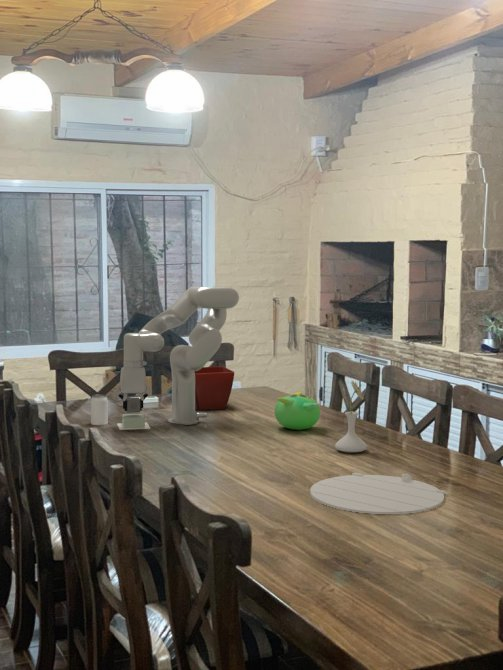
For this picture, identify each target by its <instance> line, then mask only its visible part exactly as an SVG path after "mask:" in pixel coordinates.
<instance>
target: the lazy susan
mask: <svg viewBox="0 0 503 670" xmlns="http://www.w3.org/2000/svg"><path fill="white" fill-rule="evenodd" d="M444 494H448V495H449V492H447V491H446V490H442V489H439V488H437V487H436V486H434V485H431V484H429V483H426V482H423V481H419V480H415V479H413V478H412V476H411V475H410V474H408V473H402V474H401V477H399V476H394V475H393V476H392V475H381V474H380V475H379V474H363V473H359V472H354V473H353V472H352V474H350V475H349V474H348V475H340V476H334V477H329V478H325V479H321V480H320V481H317V482H316V483H313V485H312V486H311V487H310V489H309V495H310V496H311V498H312V499H313V500H314V499H315V500H314V501H316V502H317V501H318V503H319V504H321V505H323V504H324V506H326V505H327V507H329V506H330V507H329V508H332V507H333V509H335V508H336V509H335V510H339V509H340V510H339V511H344V510H346V511H345V512H349V511H352V512H351V513H355V512H359V513H358V514H363V513H370V514H369V515H375V514H400V515H409V513H413V514H418V513H417V512H419V513H423V512H422V511H424V512H427V511H426V510H428V511H430V510H429V509H432V510H434V509H436V508H438V507H439V506H438V505H440V504H441V503H442V502H443V500H444V501H445V495H444ZM443 503H444V502H443ZM443 503H442V504H443ZM442 504H441V505H442ZM441 505H440V506H441ZM437 506H438V507H437ZM435 507H436V508H435ZM433 508H434V509H433Z"/></svg>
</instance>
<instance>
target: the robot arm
mask: <svg viewBox="0 0 503 670" xmlns="http://www.w3.org/2000/svg"><path fill="white" fill-rule="evenodd" d="M239 301H240V296H239V293H238V291H237V290H236V289H235V288H233V287H227V286H222V285H221V286H219V285H217V286H213V287H206V286H205V287H204V286H198V285H197V286H196V285H195V286H194V285H193V286H190V287H189V288H187V289H186V290H185V291H184V292H183V293H182V294H181V295H180V296H179V297H178V298H177V299H176V300H175V301H174V302H173V303H172V304H171V305H170V306H169V307H168V308H167V309H166V310H164V311H162V312H161V313H160V314H158V315H157V316H155V317H153V318H152V319H151V320H149V321H148V322H147V323H146V324H145V325H144V326H143V327H142V328H141V329H140V330H139V332H127V333H125V334H124V336H123V367H121V369H120V376H119V385H118V386H117V387H116V389H115V390H114V391H113V393H114V394H115V395H116V396H117V397H119V398H120V399H121V400H122V409H123V410H124V411H125V412H127V401H126V398H128V394H129V395H133V394H134V395H137V394H138V395H139V399H140V412H142V411H143V409H144V401H145V399H147V398H148V396H150V395H151V394H152V393H153V390H152V389H151V388H150V387H149V385H147V376H146V374H147V373H146V369H145V367H144V366H146V365H148V363H147V362H148V361H145V360H144V352H151V353H155V352H159V351H161V350H162V349H163V348H164V345H165V339H164V337H163V335H162V334H163V333H164V332H167V331H169V330H171V329H174V328H178V327H180V326H182V325H183V324H184V323H185V322H187V321H188V319H189V318H190V317H192V316H193V314H195V312H196V311H197V310H198V309H207V311H206V313H205V315H204V317H202V318H201V320H200V321H199V322H198V323H197V325H196V326H194V328H193V329H192V330H191V331H190V333H189V336H188V341H189V344H190V345H191V346H190V345H185V344H178V345H176V346H174V347H173V348H172V350H171V352H170V354H169V364H170V370H171V417H170V418H168V420H167V422H168V423H171V424H177V425H184V426H189V425H190V426H191V425H197V424H199V423H200V418H202V419H203V418H204V419H205V418H206V419H207V417H208V415H207V412H197V410H196V408H195V372H194V371H198V370H200V369H201V368H203V367H206V365H207V364H208V362H210V360H211V359H212V357H213V356H214V355H215V354H216V353H217V352H218V350H219V349H220V347H221V345H222V341H223V338H222V337H223V336H222V334H221V331H220V330H221V329H222V328H223V327H224V325H225V323H226V320H227V309H232V308H234V307H235V306H237V305H238V303H239ZM120 392H121V393H120Z"/></svg>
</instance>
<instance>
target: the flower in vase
mask: <svg viewBox="0 0 503 670" xmlns="http://www.w3.org/2000/svg"><path fill="white" fill-rule="evenodd" d="M350 383H351V386H352V388H353V390H354V391H353V393H352V394H351V397H350V400H348V401H349V402H348V403H349V409H350V411H345V412H344V414H345V416H346V419H347V423H348V424H347V425H348V427H347V428H348V429H347V433H346V434H345V435H344V436H343V437H341V438H340V439H339V440H338V441H337V442H336V443H335V444H334V448H336V450H338V451H340V452H344V453H360V452H361V453H362V452H363V451H365V450H367V448H368V446H367V443H366V442H365V441H364V440H363V439H362V438H360V437H359V436H358V435H357V434H356V431H355V429H356V428H355V425H356V419H357V417H358V415H359V412H358V411H353V410H352V409H354V408H356V407H357V405H356V404H355V403H354V404H353V405H352V400H353V398H354V395H355V394H356V395H357V396H358V398H359V399H360V400H362V401H363V400H365V397H364V393H363V392H362V390H361V387H360V386H358V384H357V382H356V381H354V380H351V382H350Z"/></svg>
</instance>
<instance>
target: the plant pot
mask: <svg viewBox="0 0 503 670" xmlns="http://www.w3.org/2000/svg"><path fill="white" fill-rule="evenodd" d="M194 372H195V410H196V411H197V410H198V411H204V410H205V411H207V410H223V409H226V408H227V406H228V403H229V400H230V396H231V393H232V389H233V383H234V378H235V371H233V370H232V369H229V368H227V367H225V366H204V367H203V368H201V369H200V370H198V371H194Z"/></svg>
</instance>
